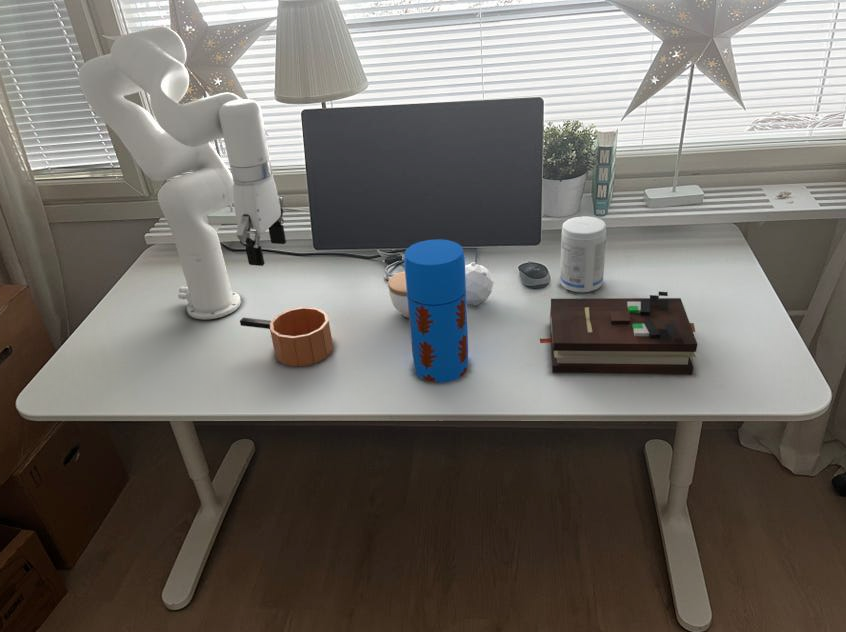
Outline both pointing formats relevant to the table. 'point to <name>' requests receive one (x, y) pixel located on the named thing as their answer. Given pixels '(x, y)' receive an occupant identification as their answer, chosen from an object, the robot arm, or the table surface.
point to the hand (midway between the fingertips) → (268, 253)
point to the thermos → (437, 309)
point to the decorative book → (621, 336)
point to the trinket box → (399, 293)
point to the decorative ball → (477, 283)
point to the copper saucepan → (298, 335)
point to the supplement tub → (582, 254)
